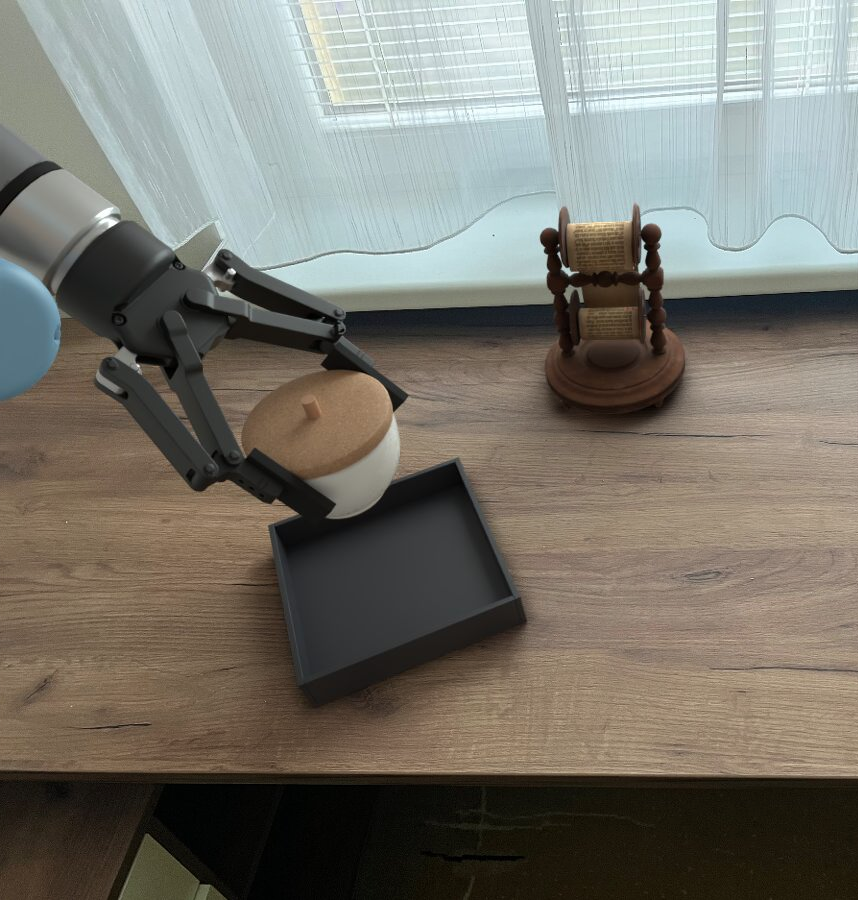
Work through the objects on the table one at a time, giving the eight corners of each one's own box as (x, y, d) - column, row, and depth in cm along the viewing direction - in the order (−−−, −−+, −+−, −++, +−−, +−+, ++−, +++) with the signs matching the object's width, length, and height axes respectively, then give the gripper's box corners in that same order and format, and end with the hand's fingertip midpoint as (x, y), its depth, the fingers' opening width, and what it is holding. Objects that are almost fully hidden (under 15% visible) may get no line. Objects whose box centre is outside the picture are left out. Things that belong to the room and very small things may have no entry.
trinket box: (433, 444, 71) (403, 353, 64) (389, 548, 63) (351, 457, 57) (311, 438, 73) (270, 349, 66) (255, 538, 65) (203, 449, 59)
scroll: (687, 333, 98) (680, 165, 84) (684, 424, 87) (676, 249, 73) (557, 336, 100) (529, 173, 86) (538, 425, 89) (504, 256, 75)
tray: (312, 708, 68) (297, 686, 66) (281, 548, 81) (267, 525, 78) (527, 621, 72) (520, 597, 70) (466, 481, 85) (458, 456, 82)
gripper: (180, 203, 68) (410, 379, 75) (-53, 399, 53) (261, 598, 59) (209, 141, 63) (452, 336, 69) (-41, 338, 47) (302, 564, 54)
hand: (365, 457), depth 64 cm, fingers closed on trinket box, 11 cm apart
